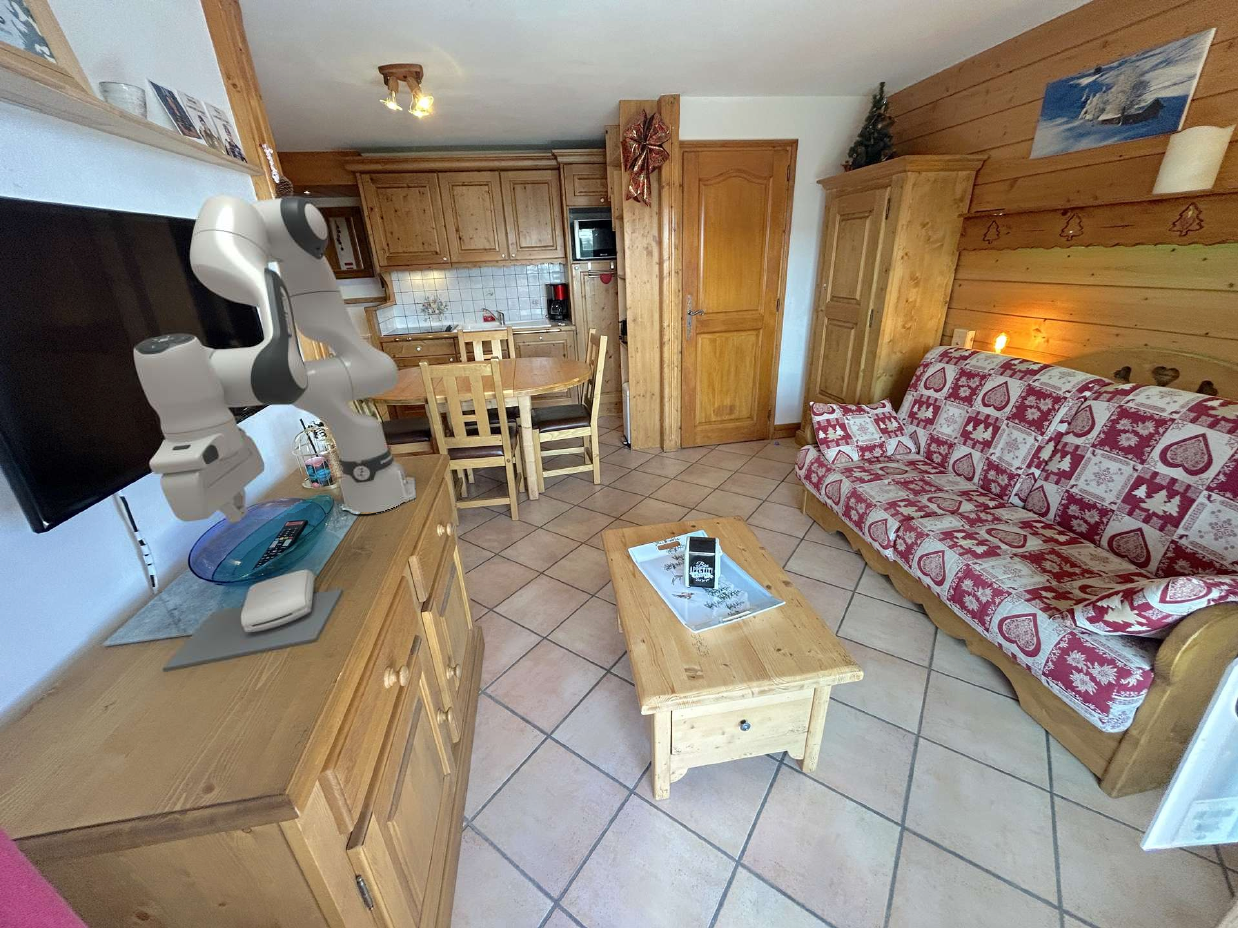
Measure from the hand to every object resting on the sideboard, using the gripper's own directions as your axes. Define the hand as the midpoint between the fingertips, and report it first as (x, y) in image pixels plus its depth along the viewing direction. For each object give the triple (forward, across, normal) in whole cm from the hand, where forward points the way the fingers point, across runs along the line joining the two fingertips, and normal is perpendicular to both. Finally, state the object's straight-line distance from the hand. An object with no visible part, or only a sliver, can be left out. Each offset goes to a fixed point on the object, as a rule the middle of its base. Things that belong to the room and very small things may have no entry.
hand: (238, 518), depth 81 cm
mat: (+18, +6, 0) cm, 19 cm away
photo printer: (+16, -3, +1) cm, 16 cm away
